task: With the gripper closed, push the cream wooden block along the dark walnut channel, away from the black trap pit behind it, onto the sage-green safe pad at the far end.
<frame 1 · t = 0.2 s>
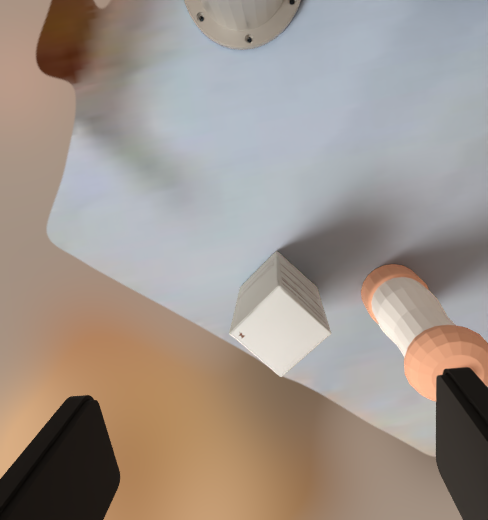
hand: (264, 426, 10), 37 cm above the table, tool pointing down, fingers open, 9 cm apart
pepper shaker: (389, 290, 47), on the table
supplement box: (278, 286, 48), on the table
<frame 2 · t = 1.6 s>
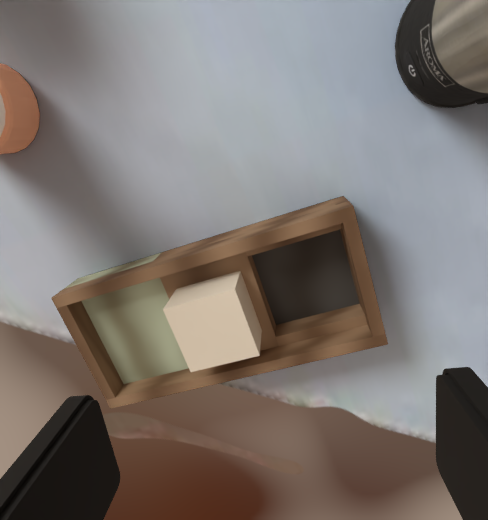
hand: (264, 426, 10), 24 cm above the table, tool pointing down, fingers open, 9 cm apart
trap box: (223, 297, 35), on the table
cream block: (219, 309, 33), point 2 cm above the table, touching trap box
pepper shaker: (0, 109, 31), on the table
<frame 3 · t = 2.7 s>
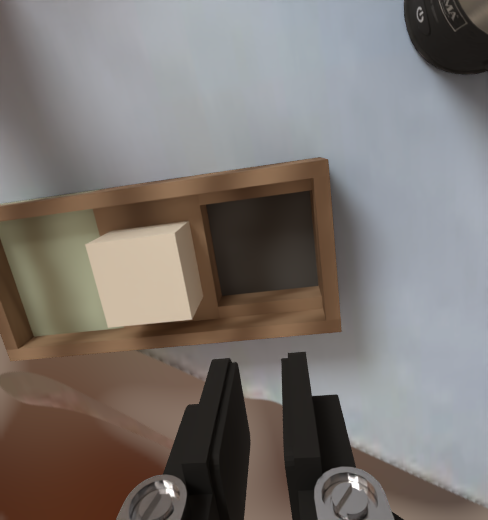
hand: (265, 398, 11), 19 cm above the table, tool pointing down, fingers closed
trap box: (167, 254, 30), on the table
cream block: (158, 264, 28), point 2 cm above the table, touching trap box
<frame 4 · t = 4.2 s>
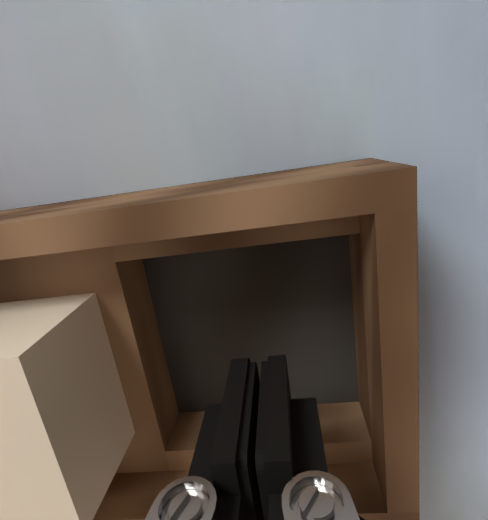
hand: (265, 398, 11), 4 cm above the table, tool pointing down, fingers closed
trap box: (76, 339, 16), on the table
cream block: (42, 373, 14), point 2 cm above the table, touching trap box
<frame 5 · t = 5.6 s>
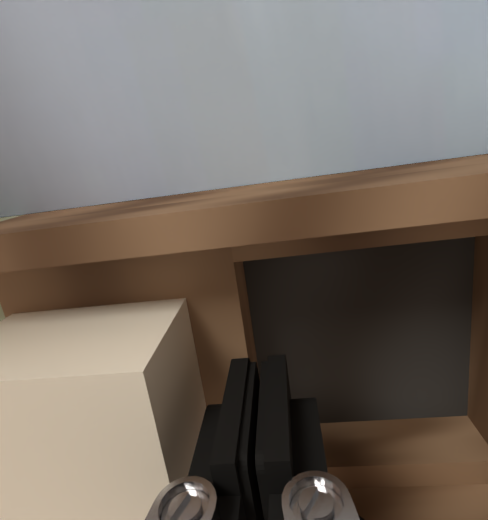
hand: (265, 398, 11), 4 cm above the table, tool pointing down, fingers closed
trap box: (158, 346, 15), on the table
cream block: (117, 384, 13), point 3 cm above the table, touching gripper, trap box
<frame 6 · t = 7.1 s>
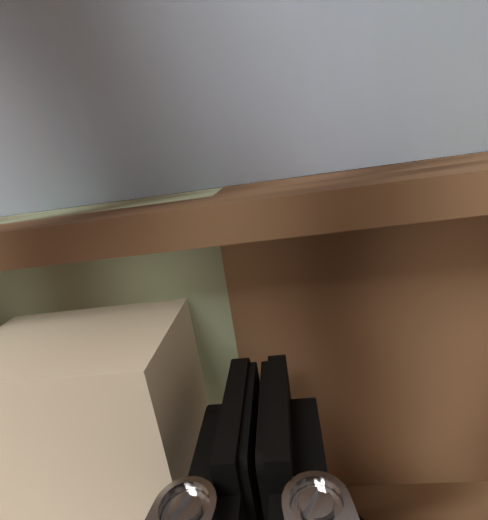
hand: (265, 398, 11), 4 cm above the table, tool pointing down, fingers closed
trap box: (348, 328, 14), on the table
cream block: (120, 385, 13), point 2 cm above the table, touching gripper, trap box
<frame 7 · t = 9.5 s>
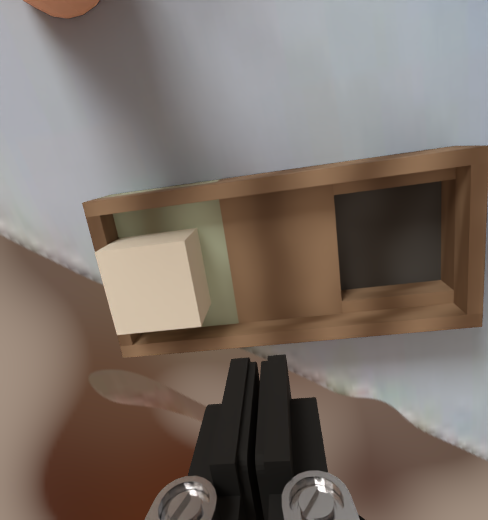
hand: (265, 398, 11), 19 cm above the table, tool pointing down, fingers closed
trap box: (282, 248, 29), on the table
cream block: (166, 270, 28), point 2 cm above the table, touching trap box
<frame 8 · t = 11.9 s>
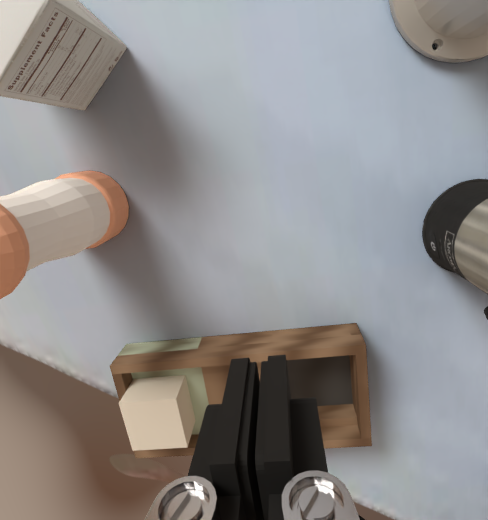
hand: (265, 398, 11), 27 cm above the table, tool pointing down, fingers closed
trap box: (244, 380, 43), on the table
cream block: (164, 399, 41), point 2 cm above the table, touching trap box
pepper shaker: (95, 206, 38), on the table
supplement box: (77, 54, 34), on the table
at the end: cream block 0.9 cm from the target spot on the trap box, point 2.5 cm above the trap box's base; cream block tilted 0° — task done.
